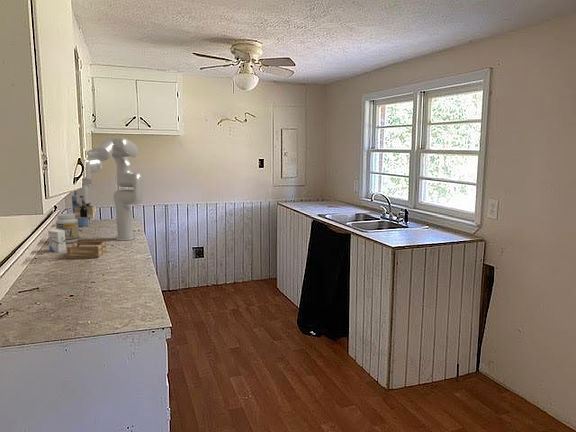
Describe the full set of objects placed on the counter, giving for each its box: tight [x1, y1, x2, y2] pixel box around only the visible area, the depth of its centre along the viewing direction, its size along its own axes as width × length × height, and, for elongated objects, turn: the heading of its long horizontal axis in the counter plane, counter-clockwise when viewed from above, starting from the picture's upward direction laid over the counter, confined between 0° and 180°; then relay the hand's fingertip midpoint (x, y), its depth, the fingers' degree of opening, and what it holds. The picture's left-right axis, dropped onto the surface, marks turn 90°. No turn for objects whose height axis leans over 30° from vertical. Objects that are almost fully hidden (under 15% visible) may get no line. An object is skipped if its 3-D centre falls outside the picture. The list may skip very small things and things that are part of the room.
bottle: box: [71, 190, 89, 228], centre depth 325 cm, size 10×10×30 cm
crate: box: [66, 240, 107, 260], centre depth 241 cm, size 14×16×6 cm
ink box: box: [47, 228, 67, 253], centre depth 250 cm, size 9×5×12 cm, turn 62°
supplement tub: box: [55, 212, 80, 244], centre depth 274 cm, size 12×12×17 cm
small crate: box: [75, 205, 97, 220], centre depth 238 cm, size 6×9×6 cm, turn 97°
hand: (85, 215), depth 238 cm, fingers closed on small crate, 6 cm apart
